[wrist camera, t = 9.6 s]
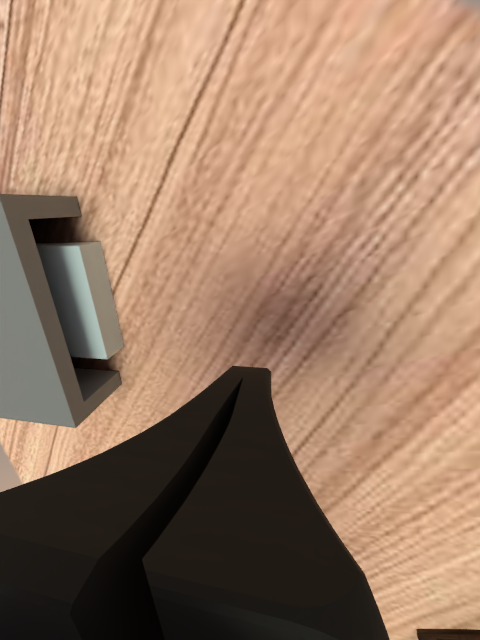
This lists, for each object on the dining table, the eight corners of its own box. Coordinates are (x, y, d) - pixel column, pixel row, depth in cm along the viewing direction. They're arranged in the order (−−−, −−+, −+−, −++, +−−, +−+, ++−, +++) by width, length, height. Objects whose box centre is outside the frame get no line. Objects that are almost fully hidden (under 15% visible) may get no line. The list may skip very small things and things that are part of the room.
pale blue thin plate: (127, 343, 23) (107, 359, 20) (35, 338, 25) (7, 352, 22) (104, 240, 20) (78, 245, 18) (2, 244, 22) (-33, 249, 20)
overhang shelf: (121, 383, 24) (75, 427, 19) (29, 375, 26) (-33, 413, 21) (76, 196, 19) (-2, 194, 14) (-35, 205, 21) (-136, 205, 16)
